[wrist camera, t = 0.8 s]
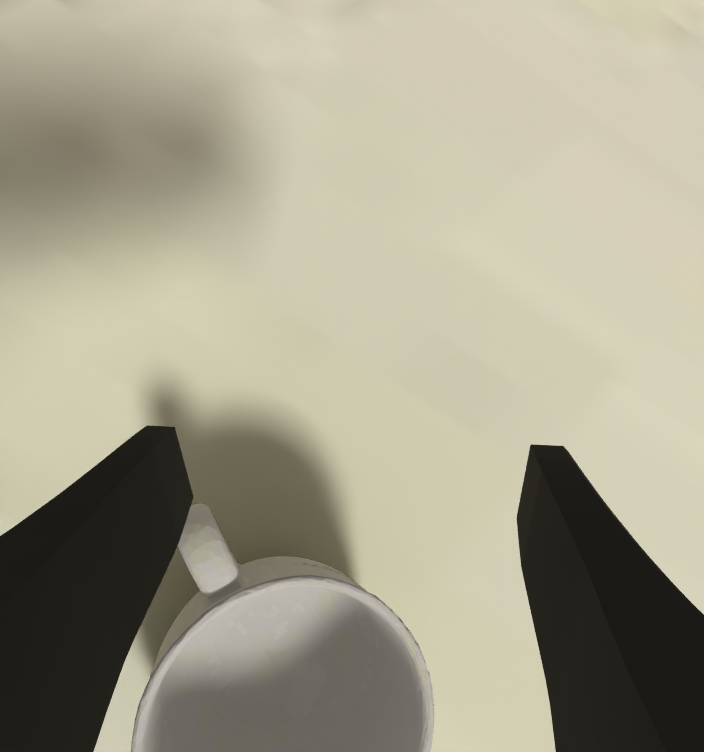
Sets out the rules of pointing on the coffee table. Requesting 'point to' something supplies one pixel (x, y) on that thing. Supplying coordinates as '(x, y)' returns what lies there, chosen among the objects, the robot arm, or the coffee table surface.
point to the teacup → (281, 661)
